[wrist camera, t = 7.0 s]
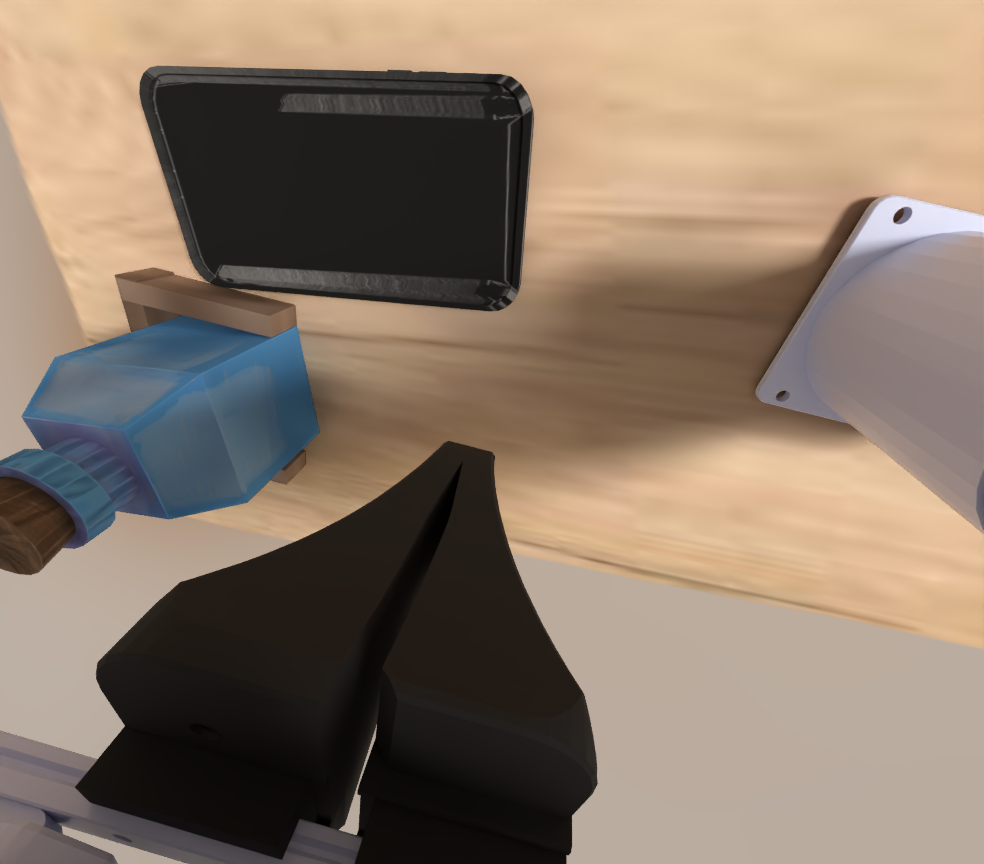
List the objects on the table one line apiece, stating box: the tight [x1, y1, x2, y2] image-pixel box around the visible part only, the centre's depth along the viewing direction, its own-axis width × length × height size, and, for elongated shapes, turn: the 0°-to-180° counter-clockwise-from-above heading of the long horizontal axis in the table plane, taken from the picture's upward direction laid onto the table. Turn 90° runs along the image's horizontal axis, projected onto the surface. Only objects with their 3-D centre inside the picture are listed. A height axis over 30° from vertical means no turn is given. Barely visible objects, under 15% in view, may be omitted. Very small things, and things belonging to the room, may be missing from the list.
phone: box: [140, 66, 534, 311], centre depth 16 cm, size 8×1×15 cm
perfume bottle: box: [0, 315, 319, 575], centre depth 17 cm, size 6×6×12 cm
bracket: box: [115, 268, 306, 484], centre depth 21 cm, size 7×10×2 cm
